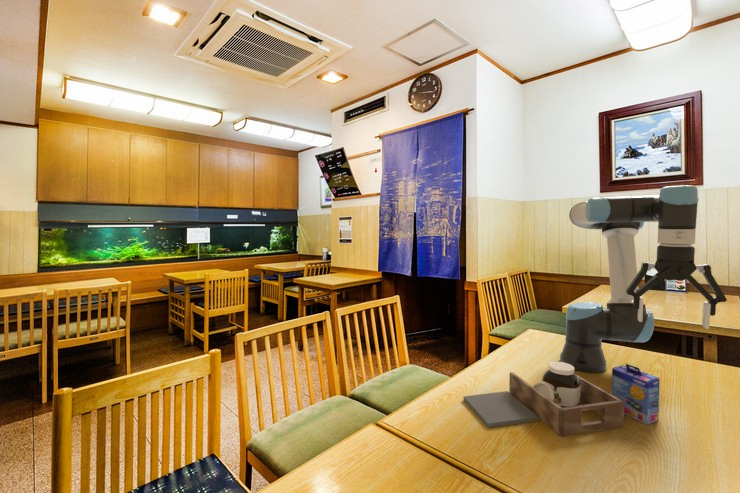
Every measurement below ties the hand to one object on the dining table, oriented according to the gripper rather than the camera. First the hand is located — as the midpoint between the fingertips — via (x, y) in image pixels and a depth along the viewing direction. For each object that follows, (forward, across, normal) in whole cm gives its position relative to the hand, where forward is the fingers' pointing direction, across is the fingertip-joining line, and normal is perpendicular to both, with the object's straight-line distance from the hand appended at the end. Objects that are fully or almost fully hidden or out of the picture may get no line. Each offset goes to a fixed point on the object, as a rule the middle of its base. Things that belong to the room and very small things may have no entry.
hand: (671, 323), depth 95 cm
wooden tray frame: (+27, -25, -7) cm, 38 cm away
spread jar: (+27, -27, -6) cm, 39 cm away
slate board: (+27, -41, -17) cm, 52 cm away
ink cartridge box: (+27, -7, -1) cm, 28 cm away
